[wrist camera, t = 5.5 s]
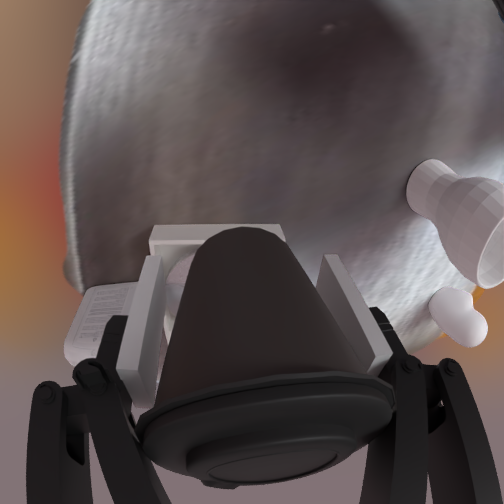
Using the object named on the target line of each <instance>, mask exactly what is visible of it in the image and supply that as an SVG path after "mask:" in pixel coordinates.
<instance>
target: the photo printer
mask: <svg viewBox="0 0 504 504" xmlns="http://www.w3.org/2000/svg"><path fill="white" fill-rule="evenodd" d="M137 284H138V282H128V283H118V284H110V285H101V286H95V287H91V288H89V289H87V291H86V293H85V295H84V297H83V299H82V302H81V304H80V306H79V308H78V311H77V313H76V315H75V318H74V320H73V322H72V324H71V326H70V329H69V331H68V334H67V336H66V338H65V342H64V356H65V358H66V359H67V360H68V361H69V363H70V364H71V365H72V366H74V367H75V366H76V365H77V364H78V363H79V362H80V361H82V360H84V359H87V358H96V356H97V352H98V349H99V346H100V343H101V339H102V336H103V332H104V329H105V326H106V323H107V322H108V321H109V320H110V318H111V317H112V316H113V315H129V312H130V309H131V305H132V302H133V298H134V295H135V291H136V288H137Z"/></svg>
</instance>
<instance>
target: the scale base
mask: <svg viewBox="0 0 504 504" xmlns="http://www.w3.org/2000/svg"><path fill="white" fill-rule="evenodd" d="M241 226H243V227H256V228H261V229H264V230H266V231H269V232H271V233H274V234H276V235H277V236H278V237H279V238H281V239H282V240H283V241H284V242H285V240H286V239H285V237H284V234H283V232H282V229H281V227H280V224H181V225H154V227H153V230H152V233H151V236H150V238H149V247H150V254H151V256H159V255H162V263H163V271H164V278H165V284H166V279H167V275H168V273H169V271H170V269H171V267H172V266H173V264H174V263H175V262H176V261H177V260H178V259H179V258H180V257H182V256H183V255H185V254H186V253H188V252H190V251H192V250H194V249H197V248H199V247H200V246H201V245H202V244H203V243H204V242H205V241H206V240H207V239H208V238H210V237H212V236H214V235H215V234H217V233H219V232H221V231H223V230H227V229H231V228H236V227H241ZM175 318H176V316H175V315H174V314H173V313H172V312H171V310H170V309H169V307H168V305H167V304H166V310H165V317H164V324H163V325H164V330H165V335H166V339H167V344H168V345H169V341H170V337H171V333H172V330H173V326H174V322H175Z"/></svg>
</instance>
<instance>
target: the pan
mask: <svg viewBox="0 0 504 504" xmlns="http://www.w3.org/2000/svg"><path fill="white" fill-rule="evenodd" d="M197 249H198V248H197ZM197 249H194V250H192V251H190V252H188V253H186V254H185V255H183V256H182V257H180V258H179V259H178V260H177V261H176V262H175V263H174V264H173V266H172V267H171V269H170V271H169V273H168V275H167V279H166V284H165V285H166V292H167V305H168V307H169V309H170V310H171V312H172V313H173V314H174V315H175V316H176V315H177V311H178V307H179V304H180V300H181V296H182V293H183V289H184V286H185V282H186V279H187V276H188V272H189V269H190V265H191V262H192V260H193V258H194V256H195V253H196V251H197Z"/></svg>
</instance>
